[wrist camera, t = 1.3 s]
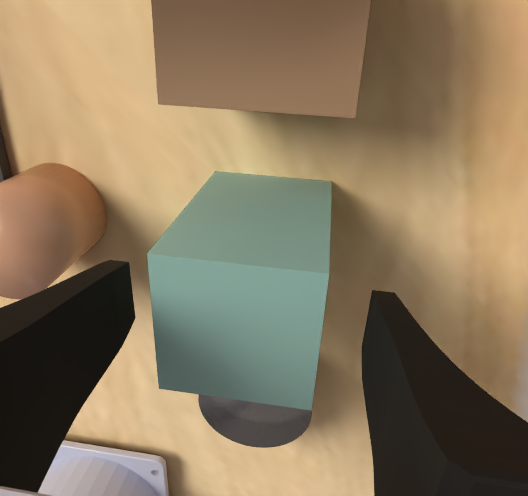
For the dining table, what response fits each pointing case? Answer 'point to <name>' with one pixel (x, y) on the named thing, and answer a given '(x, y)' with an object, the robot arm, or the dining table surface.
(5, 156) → the black mat
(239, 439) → the metal puck
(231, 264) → the teal block
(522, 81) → the dining table surface
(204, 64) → the walnut block
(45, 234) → the peach domed capsule
